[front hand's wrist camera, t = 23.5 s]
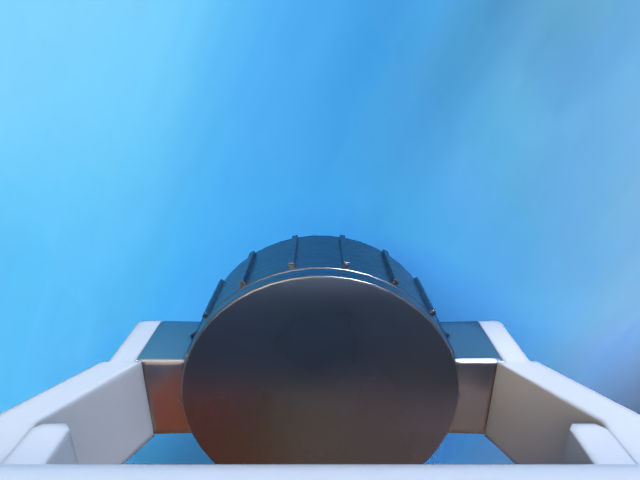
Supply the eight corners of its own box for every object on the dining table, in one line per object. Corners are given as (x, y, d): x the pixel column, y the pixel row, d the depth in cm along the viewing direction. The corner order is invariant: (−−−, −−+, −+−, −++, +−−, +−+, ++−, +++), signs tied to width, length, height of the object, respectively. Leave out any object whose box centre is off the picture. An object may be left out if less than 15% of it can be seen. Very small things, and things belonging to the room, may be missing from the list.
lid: (172, 256, 9) (135, 301, 7) (421, 209, 9) (450, 245, 7) (237, 444, 11) (220, 520, 9) (445, 411, 11) (473, 483, 9)
